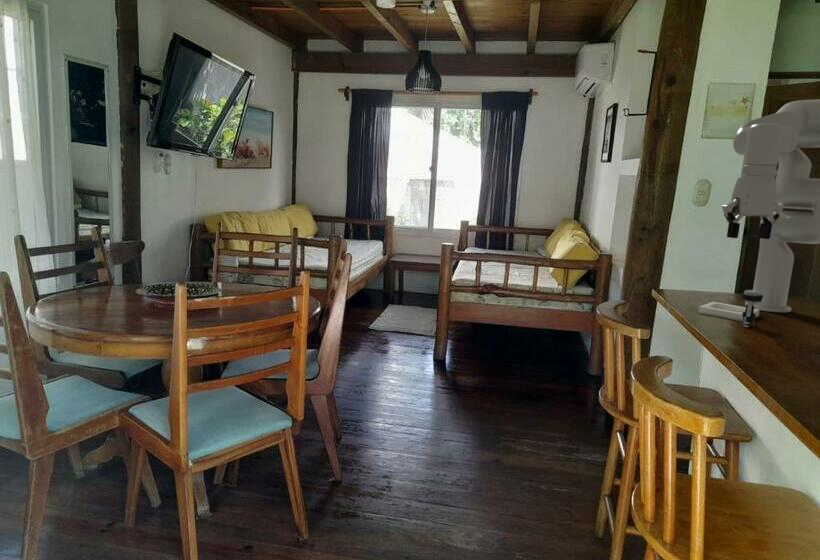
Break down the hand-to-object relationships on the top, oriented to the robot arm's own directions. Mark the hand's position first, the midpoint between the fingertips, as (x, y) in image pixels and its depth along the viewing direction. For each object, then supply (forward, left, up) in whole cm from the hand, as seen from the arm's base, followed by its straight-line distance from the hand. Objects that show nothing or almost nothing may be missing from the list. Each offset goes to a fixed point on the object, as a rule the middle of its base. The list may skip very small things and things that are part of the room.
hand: (748, 238), depth 140 cm
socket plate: (-17, -7, -25) cm, 31 cm away
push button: (-6, +1, -25) cm, 26 cm away
